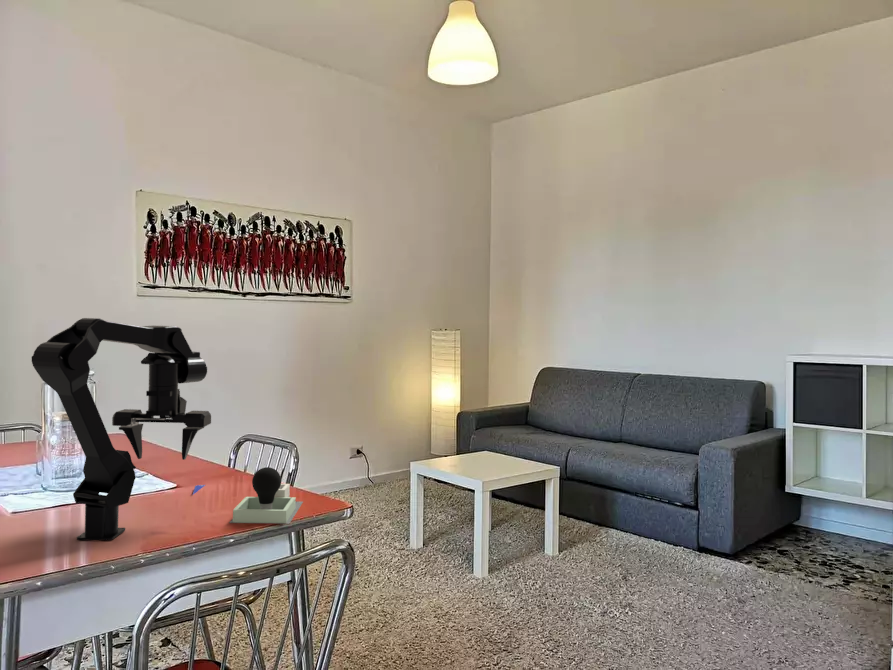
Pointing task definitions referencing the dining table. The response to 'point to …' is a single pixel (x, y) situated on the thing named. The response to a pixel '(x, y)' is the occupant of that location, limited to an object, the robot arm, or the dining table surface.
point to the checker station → (279, 513)
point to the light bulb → (266, 486)
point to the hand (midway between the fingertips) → (161, 459)
